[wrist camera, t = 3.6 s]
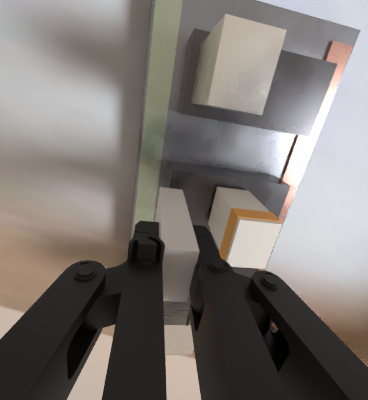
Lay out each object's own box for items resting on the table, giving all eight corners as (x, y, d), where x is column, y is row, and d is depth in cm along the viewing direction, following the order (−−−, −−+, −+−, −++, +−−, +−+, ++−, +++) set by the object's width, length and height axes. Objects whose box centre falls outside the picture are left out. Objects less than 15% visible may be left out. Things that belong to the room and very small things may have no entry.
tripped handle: (249, 190, 16) (283, 223, 12) (238, 226, 17) (265, 269, 13) (216, 185, 16) (239, 219, 11) (207, 223, 17) (224, 267, 12)
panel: (343, 35, 16) (525, -27, 8) (246, 294, 27) (285, 381, 18) (154, -16, 14) (151, -175, 6) (126, 289, 24) (110, 386, 16)
